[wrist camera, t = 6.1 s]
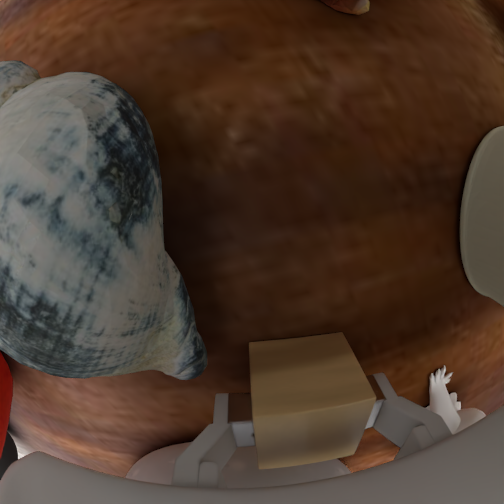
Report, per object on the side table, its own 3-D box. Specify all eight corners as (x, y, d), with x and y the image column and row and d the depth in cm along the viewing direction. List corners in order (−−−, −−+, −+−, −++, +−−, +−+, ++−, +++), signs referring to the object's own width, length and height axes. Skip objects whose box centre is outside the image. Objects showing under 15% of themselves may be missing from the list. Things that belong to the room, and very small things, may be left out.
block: (248, 341, 11) (252, 417, 7) (342, 331, 11) (377, 397, 7) (254, 402, 12) (258, 470, 9) (332, 393, 12) (354, 455, 9)
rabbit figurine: (431, 367, 12) (511, 488, 3) (502, 338, 13) (575, 416, 3) (381, 463, 16) (411, 547, 7) (447, 436, 16) (484, 505, 7)
